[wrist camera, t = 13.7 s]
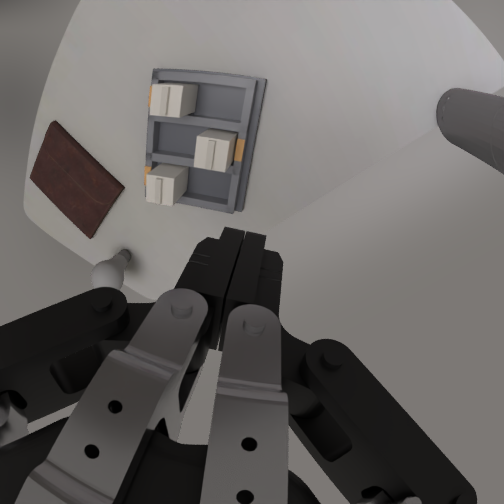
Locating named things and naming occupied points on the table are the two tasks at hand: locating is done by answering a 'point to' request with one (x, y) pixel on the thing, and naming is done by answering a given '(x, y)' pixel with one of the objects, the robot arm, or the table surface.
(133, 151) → the table surface
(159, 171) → the white oblong block
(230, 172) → the switch bank
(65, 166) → the notebook
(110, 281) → the lightbulb
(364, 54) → the table surface
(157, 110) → the white ridged block
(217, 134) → the white rectangular block
